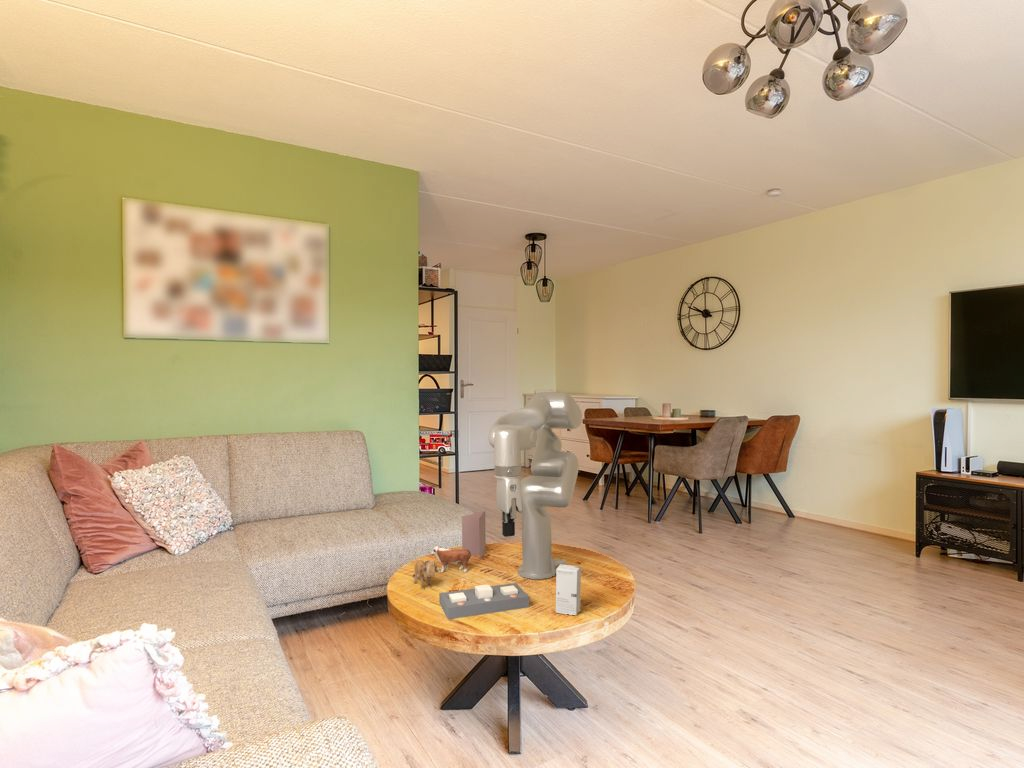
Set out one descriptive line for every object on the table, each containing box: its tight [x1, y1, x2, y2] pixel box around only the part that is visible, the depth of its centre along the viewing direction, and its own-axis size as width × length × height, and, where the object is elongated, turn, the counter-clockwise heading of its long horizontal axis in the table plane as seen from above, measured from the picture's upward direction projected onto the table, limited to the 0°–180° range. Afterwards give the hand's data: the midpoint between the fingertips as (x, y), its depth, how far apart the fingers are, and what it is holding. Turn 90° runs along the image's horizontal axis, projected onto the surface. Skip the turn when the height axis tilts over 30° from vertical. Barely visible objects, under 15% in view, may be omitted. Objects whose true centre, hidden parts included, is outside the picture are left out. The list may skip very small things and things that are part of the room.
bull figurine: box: [431, 545, 472, 574], centre depth 186 cm, size 4×13×8 cm, turn 84°
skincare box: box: [555, 564, 582, 616], centre depth 153 cm, size 6×4×12 cm
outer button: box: [449, 592, 466, 603], centre depth 156 cm, size 4×4×4 cm
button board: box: [438, 582, 530, 620], centre depth 158 cm, size 23×11×3 cm, turn 109°
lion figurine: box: [412, 559, 441, 590], centre depth 175 cm, size 15×5×9 cm, turn 36°
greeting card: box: [461, 510, 487, 562], centre depth 201 cm, size 11×7×15 cm, turn 136°
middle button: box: [474, 583, 493, 599], centre depth 158 cm, size 4×4×4 cm
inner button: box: [500, 585, 518, 595], centre depth 160 cm, size 4×4×4 cm
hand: (508, 535), depth 160 cm, fingers closed
